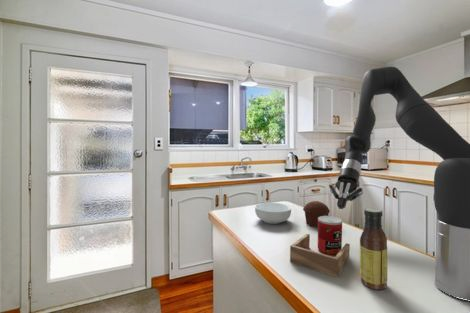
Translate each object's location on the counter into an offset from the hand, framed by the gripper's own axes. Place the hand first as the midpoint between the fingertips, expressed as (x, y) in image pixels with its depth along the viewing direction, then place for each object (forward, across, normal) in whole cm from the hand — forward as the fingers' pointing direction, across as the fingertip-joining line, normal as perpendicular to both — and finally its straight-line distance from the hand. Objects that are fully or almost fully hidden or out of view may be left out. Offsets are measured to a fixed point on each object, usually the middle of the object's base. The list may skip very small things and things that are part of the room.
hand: (340, 207), depth 92 cm
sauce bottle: (+27, +15, -9) cm, 32 cm away
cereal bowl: (+7, -31, +10) cm, 33 cm away
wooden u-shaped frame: (+24, 0, -7) cm, 25 cm away
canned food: (+18, 0, 0) cm, 18 cm away
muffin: (+1, -14, +17) cm, 22 cm away
